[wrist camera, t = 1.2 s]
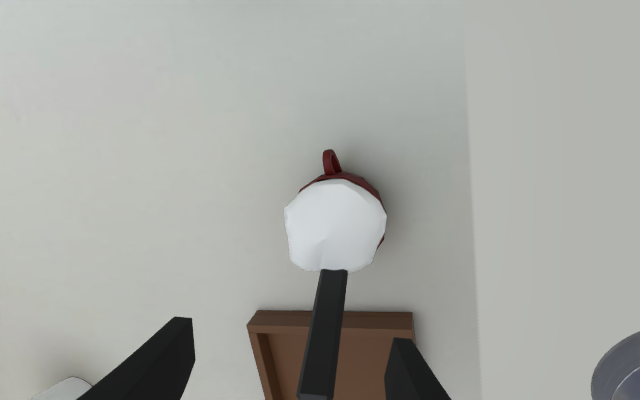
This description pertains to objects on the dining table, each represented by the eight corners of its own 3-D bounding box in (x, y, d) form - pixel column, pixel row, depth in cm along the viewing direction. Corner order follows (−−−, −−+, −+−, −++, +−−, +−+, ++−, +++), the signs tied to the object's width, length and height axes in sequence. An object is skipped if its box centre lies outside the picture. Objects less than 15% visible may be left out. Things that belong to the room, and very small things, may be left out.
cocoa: (320, 139, 22) (233, 168, 11) (406, 163, 21) (403, 221, 10) (294, 252, 26) (206, 361, 14) (368, 278, 24) (334, 419, 13)
